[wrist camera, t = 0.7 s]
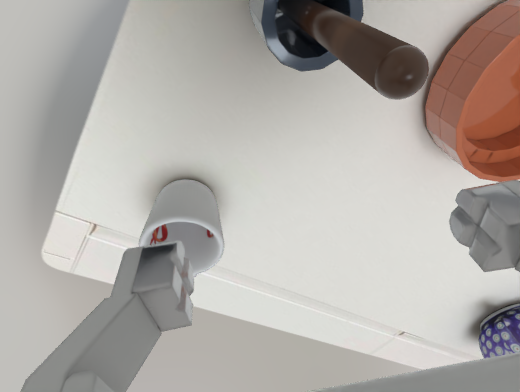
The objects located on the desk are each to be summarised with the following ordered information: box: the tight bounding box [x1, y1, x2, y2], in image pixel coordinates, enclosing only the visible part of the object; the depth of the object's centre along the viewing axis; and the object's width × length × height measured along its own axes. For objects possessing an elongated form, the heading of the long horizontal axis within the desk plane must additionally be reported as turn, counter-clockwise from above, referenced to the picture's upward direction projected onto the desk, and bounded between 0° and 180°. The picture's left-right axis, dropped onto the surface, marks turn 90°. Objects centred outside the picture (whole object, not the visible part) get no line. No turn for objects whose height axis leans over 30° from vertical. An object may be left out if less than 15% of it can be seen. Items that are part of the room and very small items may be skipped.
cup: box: [139, 180, 224, 277], centre depth 34 cm, size 11×8×8 cm
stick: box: [279, 0, 429, 100], centre depth 17 cm, size 2×2×20 cm
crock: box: [249, 0, 363, 71], centre depth 22 cm, size 6×6×9 cm
